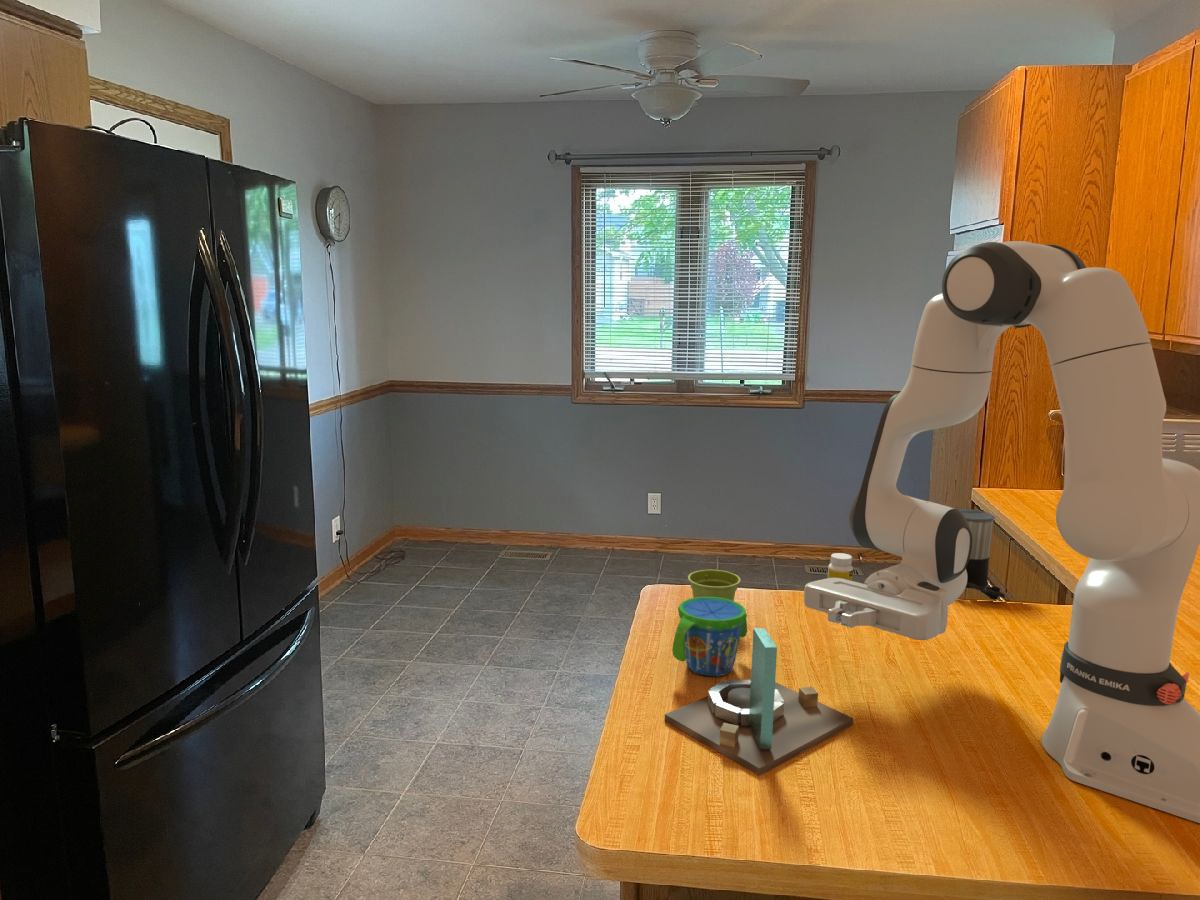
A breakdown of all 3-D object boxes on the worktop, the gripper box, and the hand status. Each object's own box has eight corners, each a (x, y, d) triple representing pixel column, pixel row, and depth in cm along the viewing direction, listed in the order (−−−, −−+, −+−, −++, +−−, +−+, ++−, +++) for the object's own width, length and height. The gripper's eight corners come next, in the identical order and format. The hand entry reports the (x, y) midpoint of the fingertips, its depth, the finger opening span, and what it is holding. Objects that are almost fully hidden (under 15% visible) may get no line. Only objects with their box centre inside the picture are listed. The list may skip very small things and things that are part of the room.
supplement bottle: (852, 601, 162) (855, 560, 160) (827, 599, 163) (829, 558, 161) (849, 593, 166) (852, 553, 165) (825, 591, 167) (828, 551, 166)
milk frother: (956, 571, 180) (962, 505, 177) (1028, 593, 168) (1036, 522, 165) (918, 584, 172) (924, 515, 169) (991, 607, 160) (999, 533, 157)
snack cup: (722, 644, 141) (724, 588, 139) (768, 667, 133) (771, 607, 131) (651, 667, 132) (652, 607, 130) (695, 693, 124) (697, 629, 122)
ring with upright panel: (767, 752, 106) (772, 649, 103) (682, 716, 114) (685, 621, 112) (815, 713, 116) (821, 619, 113) (734, 683, 124) (738, 595, 122)
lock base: (853, 724, 115) (854, 704, 115) (759, 775, 103) (760, 753, 102) (758, 680, 128) (759, 662, 128) (664, 720, 116) (665, 700, 115)
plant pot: (680, 628, 148) (681, 582, 146) (694, 610, 156) (696, 566, 155) (731, 637, 144) (733, 589, 143) (743, 618, 153) (745, 573, 151)
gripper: (835, 563, 133) (780, 581, 124) (958, 593, 117) (904, 615, 108) (834, 601, 134) (779, 621, 125) (956, 635, 118) (903, 661, 109)
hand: (838, 619), depth 117 cm, fingers closed
